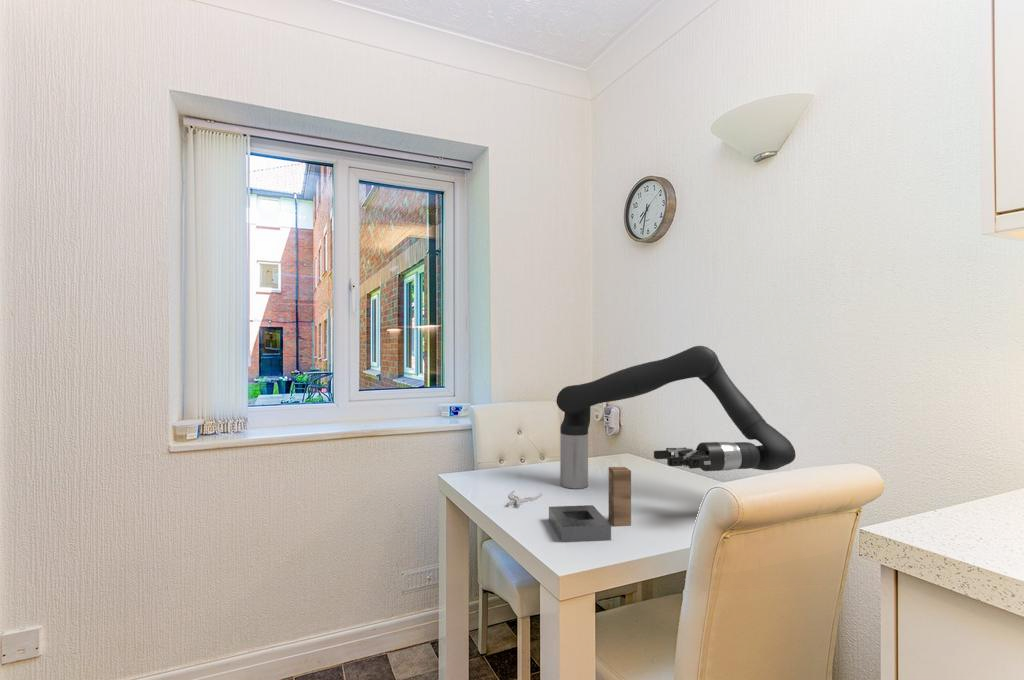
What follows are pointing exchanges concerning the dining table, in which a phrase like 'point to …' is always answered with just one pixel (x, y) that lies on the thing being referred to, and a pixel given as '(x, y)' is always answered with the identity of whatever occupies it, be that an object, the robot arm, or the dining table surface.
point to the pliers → (518, 501)
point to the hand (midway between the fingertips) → (660, 458)
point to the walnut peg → (620, 496)
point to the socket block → (579, 523)
